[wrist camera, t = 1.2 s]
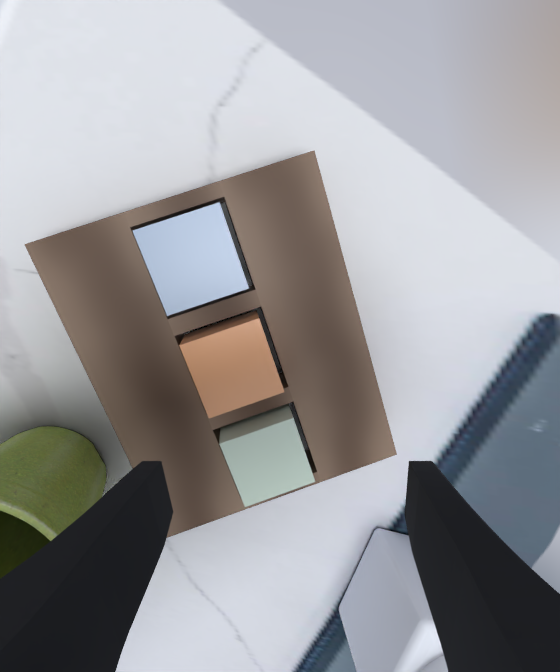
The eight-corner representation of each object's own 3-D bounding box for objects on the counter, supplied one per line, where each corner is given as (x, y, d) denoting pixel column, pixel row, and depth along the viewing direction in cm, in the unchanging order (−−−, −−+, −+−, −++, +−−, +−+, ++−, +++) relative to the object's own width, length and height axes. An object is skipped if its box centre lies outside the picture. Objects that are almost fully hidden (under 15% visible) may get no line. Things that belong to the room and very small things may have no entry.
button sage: (243, 480, 23) (245, 507, 21) (220, 423, 22) (219, 444, 20) (307, 458, 23) (315, 481, 21) (286, 399, 22) (293, 417, 20)
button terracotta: (211, 399, 22) (208, 418, 19) (185, 334, 21) (179, 345, 18) (278, 376, 22) (284, 392, 19) (256, 310, 21) (259, 318, 18)
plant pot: (158, 426, 23) (115, 531, 15) (109, 555, 25) (46, 717, 16) (-9, 375, 21) (-168, 460, 13) (-50, 517, 23) (-215, 677, 14)
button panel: (172, 508, 24) (166, 537, 22) (49, 244, 20) (24, 244, 18) (380, 434, 25) (396, 454, 22) (304, 161, 20) (314, 150, 18)
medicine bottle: (335, 607, 28) (410, 869, 16) (374, 524, 26) (486, 743, 15) (421, 625, 29) (547, 877, 17) (462, 546, 28) (627, 762, 16)
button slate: (174, 307, 20) (167, 316, 18) (144, 232, 19) (132, 230, 17) (247, 283, 20) (249, 288, 18) (220, 207, 19) (219, 202, 17)
